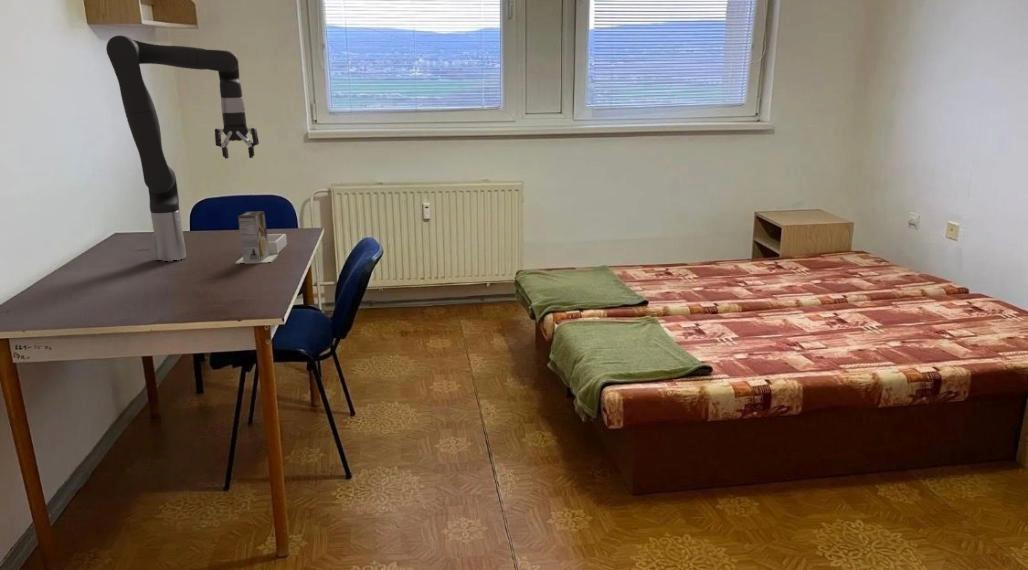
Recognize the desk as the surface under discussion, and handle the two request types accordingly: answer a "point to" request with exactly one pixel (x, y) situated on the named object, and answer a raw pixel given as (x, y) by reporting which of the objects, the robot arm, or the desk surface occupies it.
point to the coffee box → (253, 236)
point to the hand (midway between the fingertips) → (239, 158)
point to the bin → (276, 242)
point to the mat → (266, 260)
